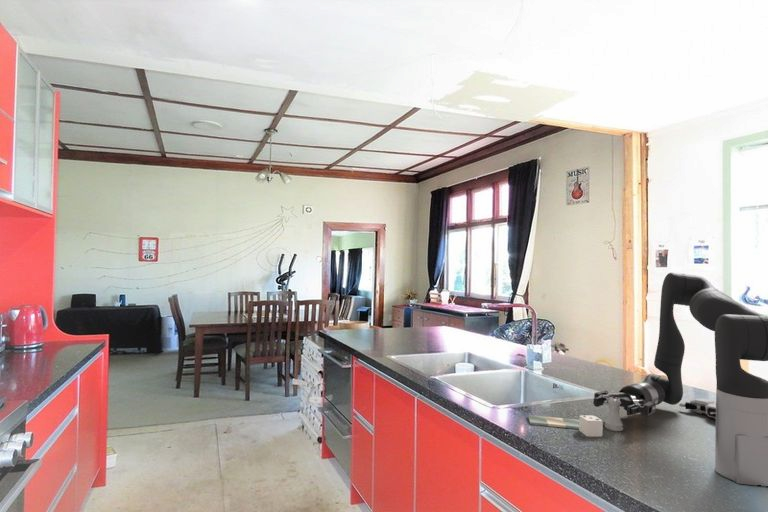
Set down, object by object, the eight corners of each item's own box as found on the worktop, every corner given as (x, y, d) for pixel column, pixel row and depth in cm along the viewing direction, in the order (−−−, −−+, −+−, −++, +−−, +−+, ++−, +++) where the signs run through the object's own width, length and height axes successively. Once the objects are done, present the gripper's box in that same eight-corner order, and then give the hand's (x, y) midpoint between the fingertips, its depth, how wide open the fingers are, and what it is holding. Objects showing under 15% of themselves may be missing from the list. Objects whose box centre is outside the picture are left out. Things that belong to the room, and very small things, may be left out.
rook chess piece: (625, 432, 120) (626, 401, 120) (607, 430, 121) (607, 400, 121) (620, 426, 124) (621, 396, 124) (602, 425, 125) (603, 395, 125)
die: (602, 436, 116) (602, 420, 116) (586, 436, 116) (587, 420, 116) (594, 431, 120) (594, 415, 120) (579, 430, 120) (579, 415, 120)
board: (602, 431, 120) (602, 428, 120) (530, 424, 124) (530, 422, 124) (596, 423, 126) (596, 421, 126) (527, 417, 129) (527, 415, 129)
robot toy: (676, 414, 140) (727, 427, 126) (675, 398, 140) (726, 410, 126) (705, 410, 144) (757, 423, 130) (704, 396, 144) (756, 407, 130)
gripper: (613, 378, 137) (585, 386, 127) (666, 389, 126) (640, 399, 116) (613, 404, 137) (584, 413, 127) (665, 417, 126) (639, 429, 116)
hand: (611, 406), depth 121 cm, fingers open, 8 cm apart
